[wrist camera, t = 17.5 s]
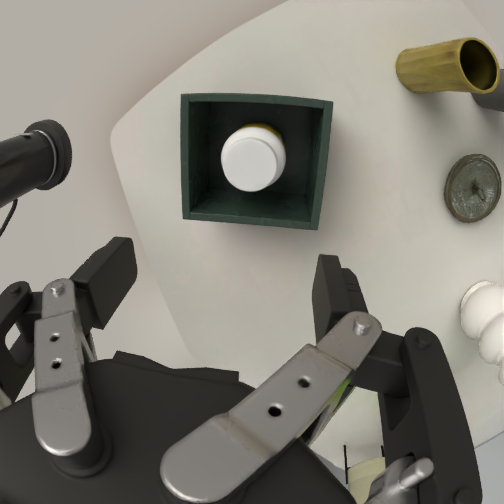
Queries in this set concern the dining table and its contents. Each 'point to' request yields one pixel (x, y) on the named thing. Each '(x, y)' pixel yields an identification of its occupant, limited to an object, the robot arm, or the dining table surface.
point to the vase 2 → (486, 321)
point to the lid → (473, 188)
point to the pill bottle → (254, 156)
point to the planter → (363, 476)
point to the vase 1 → (449, 67)
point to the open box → (273, 196)
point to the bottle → (493, 96)
